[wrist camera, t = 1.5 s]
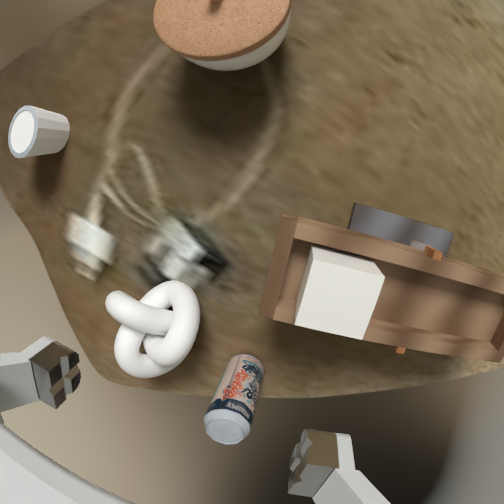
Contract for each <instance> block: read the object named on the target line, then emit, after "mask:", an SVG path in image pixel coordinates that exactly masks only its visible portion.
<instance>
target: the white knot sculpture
mask: <svg viewBox="0 0 504 504" xmlns="http://www.w3.org/2000/svg"><path fill="white" fill-rule="evenodd" d="M105 304H106V309H107V311H108V312H109V313H110V315H111V316H112V317H113V318H114V319H116V320H117V321H119V322H120V323H122V325H121V326H120V328H119V330H118V333H117V335H116V339H115V345H114V352H115V357H116V361H117V362H118V364H119V366H120V367H121V368H122V369H123V370H124V371H125V372H127V373H128V374H130V375H132V376H135V377H139V378H152V377H157V376H160V375H163V374H165V373H167V372H169V371H170V370H172V369H173V368H175V367H176V366H178V365H179V364H180V363H181V362H182V361H183V360H184V359H185V357H186V356H187V355H188V353H189V352H190V350H191V348H192V346H193V343H194V341H195V339H196V335H197V332H198V329H199V323H200V305H199V302H198V299H197V296H196V295H195V293H194V292H193V290H192V289H191V287H189V286H188V285H187V284H185V283H182V282H179V281H173V280H172V281H167V282H164V283H161V284H159V285H157V286H156V287H154V288H153V289H151V290H150V291H149V292H148V293H147V294H146V295H145V296H144V297H143V298H142V299H141V300H140V301H137V300H136V299H134V298H133V297H131V296H130V295H128V294H126V293H124V292H121V291H114V292H111V293H110V294H109V295H108V296H107V299H106V302H105ZM171 306H172V307H173V311H171V310H166V309H168V308H169V307H171ZM142 340H143V344H144V348H145V350H146V353H147V354H141V353H140V352H139V348H140V345H141V342H142Z"/></svg>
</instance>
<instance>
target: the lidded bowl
mask: <svg viewBox="0 0 504 504" xmlns="http://www.w3.org/2000/svg"><path fill="white" fill-rule="evenodd" d="M290 16H291V0H157V1H156V4H155V8H154V12H153V22H154V27H155V30H156V33H157V35H158V36H159V38H160V39H161V41H162V42H163V43H164V44H165V45H166V46H168V47H169V48H170V49H171V50H173V51H174V52H176V53H178V54H180V55H181V56H182V57H184V58H185V59H187V60H188V61H190V62H192V63H194V64H197V65H199V66H201V67H205V68H208V69H212V70H218V71H233V70H240V69H244V68H248V67H251V66H253V65H256V64H258V63H260V62H261V61H263V60H265V59H266V58H267V57H269V56H270V55H271V54H272V53H273V52H274V51H275V50H276V49H277V48H278V47H279V46H280V44H281V43H282V41H283V39H284V37H285V36H286V33H287V31H288V27H289V24H290Z"/></svg>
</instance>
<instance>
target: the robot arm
mask: <svg viewBox="0 0 504 504" xmlns="http://www.w3.org/2000/svg"><path fill="white" fill-rule="evenodd" d="M78 363H79V354H78V353H76V352H75V351H73V350H71V349H69V348H68V347H66V346H64V345H62V344H60V343H59V342H57V341H54V340H53V339H51V338H50V337H48V336H44V337H42V338H41V339H39V340H38V341H36V342H35V343H33V344H32V345H30V346H29V347H28V348H26V349H25V350H23V351H22V352H20V353H19V354H18V353H17V352H12V353H4V354H0V412H3V411H6V410H10V409H13V408H16V407H20V406H23V405H26V404H29V403H32V402H35V401H38V400H39V399H40V400H41V401H43V402H45V403H46V404H48V405H50V406H51V407H53V408H55V409H57V408H58V407H59V406H60V405H61V404H62V403H63V402H64V401H65V400H66V394H70V393H73V392H74V391H75V390H76V389H77V387H78V385H79V383H80V378H81V373H80V370H79V368H78V366H77V364H78ZM290 469H291V470H292V472H293V473H292V474H291V476H290V478H289V486H288V493H289V494H295V495H301V496H308V497H313V498H312V499H313V500H314V502H315V504H390V503H389V502H388V501H387V499H386V498H385V497H384V496H383V495H381V493H380V492H379V491H378V490H377V489H376V488H375V487H374V486H373V485H372V484H371V483H370V482H369V480H368V479H366V477H365V476H364V475H363V474H362V473H361V472H360V471H358V470H355V465H354V457H353V449H352V443H351V437H350V435H348V434H340V433H332V432H325V431H318V430H312V429H305V430H304V431H303V433H302V435H301V442H300V443H298V444H297V445H296V447H295V449H294V451H293V454H292V457H291V463H290ZM0 504H135V503H133V502H131V501H128V500H126V499H124V498H122V497H119V496H117V495H115V494H113V493H111V492H109V491H107V490H104V489H103V488H101V487H99V486H97V485H95V484H93V483H91V482H89V481H87V480H85V479H84V478H82V477H80V476H78V475H77V474H74V473H73V472H71V471H70V470H68V469H66V468H64V467H63V466H61V465H60V464H58V463H56V462H55V461H53V460H52V459H50V458H49V457H47V456H45V455H44V454H43V453H41V452H40V451H38V450H37V449H35V448H34V447H32V446H31V445H30V444H28V443H27V442H26V441H24V440H23V439H22V438H20V437H19V436H17V435H16V434H15V433H14V432H12V431H11V430H10V429H9V428H7V427H6V426H5V425H4V421H3V418H2V416H1V413H0Z"/></svg>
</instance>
